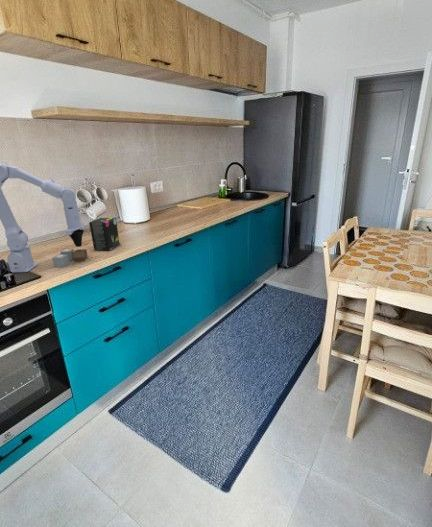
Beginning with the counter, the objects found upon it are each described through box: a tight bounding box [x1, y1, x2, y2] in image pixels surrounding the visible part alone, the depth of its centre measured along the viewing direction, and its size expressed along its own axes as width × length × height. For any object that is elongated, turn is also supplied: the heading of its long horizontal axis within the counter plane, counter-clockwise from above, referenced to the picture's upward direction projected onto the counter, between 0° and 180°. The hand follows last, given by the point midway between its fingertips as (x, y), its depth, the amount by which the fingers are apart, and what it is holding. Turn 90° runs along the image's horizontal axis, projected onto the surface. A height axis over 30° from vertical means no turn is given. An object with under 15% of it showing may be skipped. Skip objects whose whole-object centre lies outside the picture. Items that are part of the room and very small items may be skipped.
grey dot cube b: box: [51, 253, 71, 269], centre depth 137 cm, size 4×4×5 cm
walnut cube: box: [73, 248, 89, 263], centre depth 143 cm, size 4×4×4 cm
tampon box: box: [88, 217, 120, 252], centre depth 158 cm, size 11×9×15 cm
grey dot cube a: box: [59, 248, 75, 262], centre depth 145 cm, size 4×4×5 cm
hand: (78, 246), depth 142 cm, fingers closed
